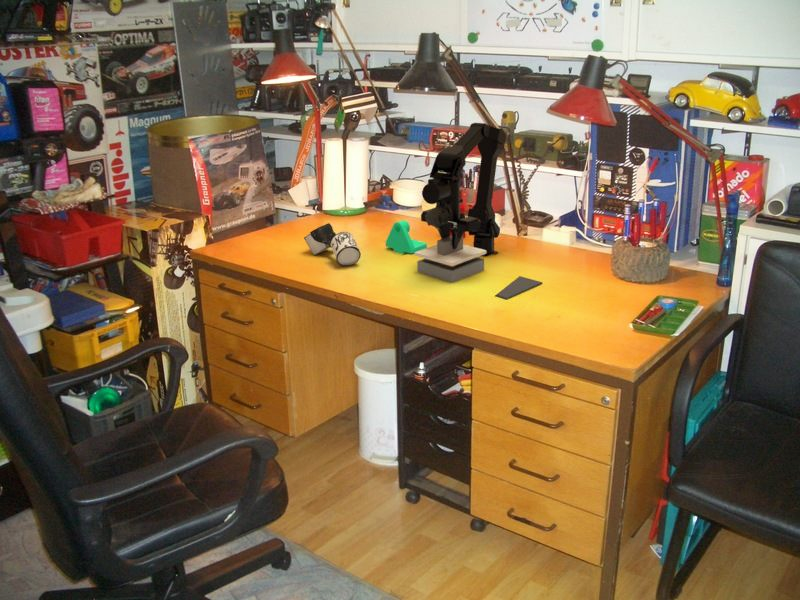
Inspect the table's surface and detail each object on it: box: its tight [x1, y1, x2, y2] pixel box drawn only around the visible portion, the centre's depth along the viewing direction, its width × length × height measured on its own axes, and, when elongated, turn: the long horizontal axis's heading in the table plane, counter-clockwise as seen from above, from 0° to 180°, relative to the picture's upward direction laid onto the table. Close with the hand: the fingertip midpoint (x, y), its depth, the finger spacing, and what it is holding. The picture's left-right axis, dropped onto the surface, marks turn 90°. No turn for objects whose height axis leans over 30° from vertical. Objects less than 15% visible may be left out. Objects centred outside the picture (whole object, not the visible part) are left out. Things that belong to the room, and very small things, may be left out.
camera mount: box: [385, 219, 428, 255], centre depth 256 cm, size 12×8×10 cm, turn 44°
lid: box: [413, 236, 486, 266], centre depth 232 cm, size 15×15×5 cm
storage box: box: [416, 257, 485, 284], centre depth 235 cm, size 14×14×4 cm
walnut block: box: [439, 263, 462, 270], centre depth 235 cm, size 5×5×2 cm
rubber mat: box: [494, 275, 543, 301], centre depth 224 cm, size 16×16×1 cm
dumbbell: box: [303, 222, 362, 267], centre depth 251 cm, size 25×10×10 cm, turn 36°
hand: (450, 247), depth 232 cm, fingers closed on lid, 3 cm apart
